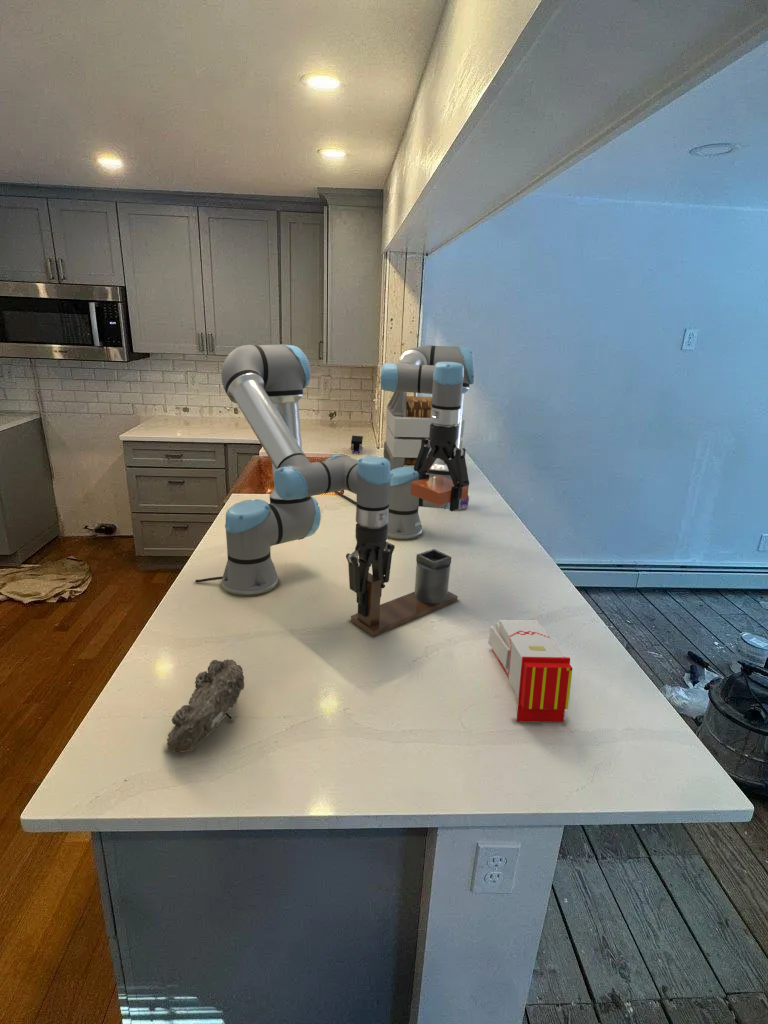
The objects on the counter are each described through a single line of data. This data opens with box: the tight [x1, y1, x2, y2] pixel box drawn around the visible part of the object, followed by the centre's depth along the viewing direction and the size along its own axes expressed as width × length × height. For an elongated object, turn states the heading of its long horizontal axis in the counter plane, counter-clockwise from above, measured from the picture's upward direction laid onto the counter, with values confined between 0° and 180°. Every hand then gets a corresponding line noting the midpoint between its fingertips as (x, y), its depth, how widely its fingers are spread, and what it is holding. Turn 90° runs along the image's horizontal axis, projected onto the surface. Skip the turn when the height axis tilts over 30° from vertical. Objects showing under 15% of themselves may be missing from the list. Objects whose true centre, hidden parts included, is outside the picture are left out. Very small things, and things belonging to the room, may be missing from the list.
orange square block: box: [410, 475, 470, 506], centre depth 154 cm, size 11×11×5 cm
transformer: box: [383, 392, 465, 471], centre depth 268 cm, size 34×33×41 cm
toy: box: [488, 619, 573, 723], centre depth 122 cm, size 12×13×30 cm
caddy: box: [350, 548, 459, 637], centre depth 147 cm, size 30×9×14 cm, turn 131°
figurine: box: [456, 495, 470, 511], centre depth 227 cm, size 9×10×15 cm
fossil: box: [166, 658, 245, 754], centre depth 106 cm, size 22×10×15 cm
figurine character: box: [350, 435, 364, 454], centre depth 309 cm, size 7×8×15 cm
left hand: (368, 612), depth 140 cm, fingers closed on caddy, 3 cm apart
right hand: (438, 503), depth 155 cm, fingers closed on orange square block, 11 cm apart
